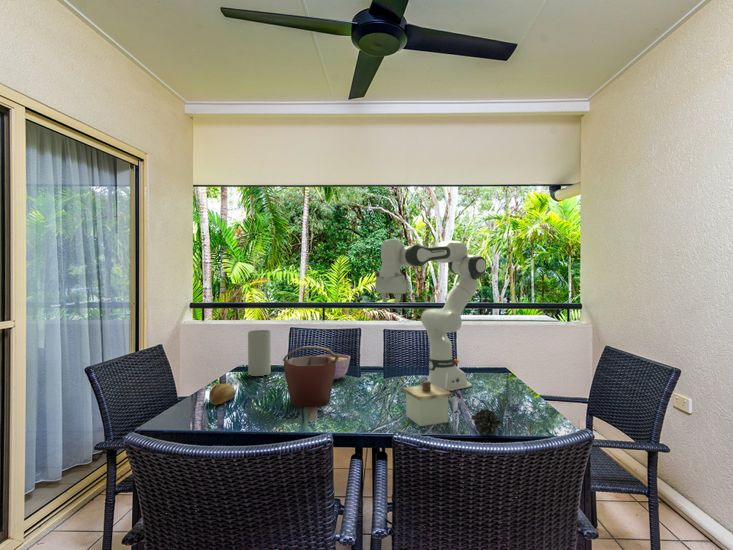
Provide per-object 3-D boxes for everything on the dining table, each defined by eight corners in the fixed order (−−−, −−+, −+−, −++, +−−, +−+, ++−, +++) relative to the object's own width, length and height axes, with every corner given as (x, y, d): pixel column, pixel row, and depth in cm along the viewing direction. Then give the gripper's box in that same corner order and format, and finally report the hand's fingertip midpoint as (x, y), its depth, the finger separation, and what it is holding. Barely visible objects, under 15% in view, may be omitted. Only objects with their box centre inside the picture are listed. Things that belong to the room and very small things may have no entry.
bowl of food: (357, 376, 230) (357, 356, 230) (336, 384, 213) (336, 362, 214) (329, 372, 241) (329, 352, 241) (306, 379, 224) (306, 358, 224)
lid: (433, 389, 170) (433, 376, 170) (451, 398, 157) (451, 384, 157) (402, 393, 165) (402, 379, 165) (418, 403, 152) (418, 388, 152)
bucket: (345, 398, 190) (344, 343, 190) (324, 413, 169) (324, 352, 169) (297, 393, 198) (297, 341, 198) (273, 407, 177) (272, 349, 177)
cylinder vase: (267, 377, 231) (267, 332, 231) (245, 377, 231) (245, 332, 231) (272, 372, 243) (272, 329, 243) (251, 372, 243) (251, 330, 244)
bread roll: (203, 406, 179) (203, 388, 179) (220, 396, 194) (220, 380, 194) (224, 407, 178) (224, 389, 178) (239, 397, 192) (239, 380, 192)
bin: (432, 412, 169) (432, 388, 169) (448, 422, 157) (447, 395, 157) (406, 416, 164) (406, 391, 164) (420, 426, 153) (419, 399, 153)
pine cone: (470, 399, 156) (485, 410, 141) (490, 405, 157) (507, 417, 142) (463, 421, 156) (477, 435, 141) (483, 427, 156) (500, 442, 141)
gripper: (409, 273, 185) (410, 303, 185) (383, 273, 202) (383, 301, 202) (398, 273, 181) (398, 304, 181) (373, 273, 198) (373, 302, 198)
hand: (390, 303), depth 192 cm, fingers open, 8 cm apart
